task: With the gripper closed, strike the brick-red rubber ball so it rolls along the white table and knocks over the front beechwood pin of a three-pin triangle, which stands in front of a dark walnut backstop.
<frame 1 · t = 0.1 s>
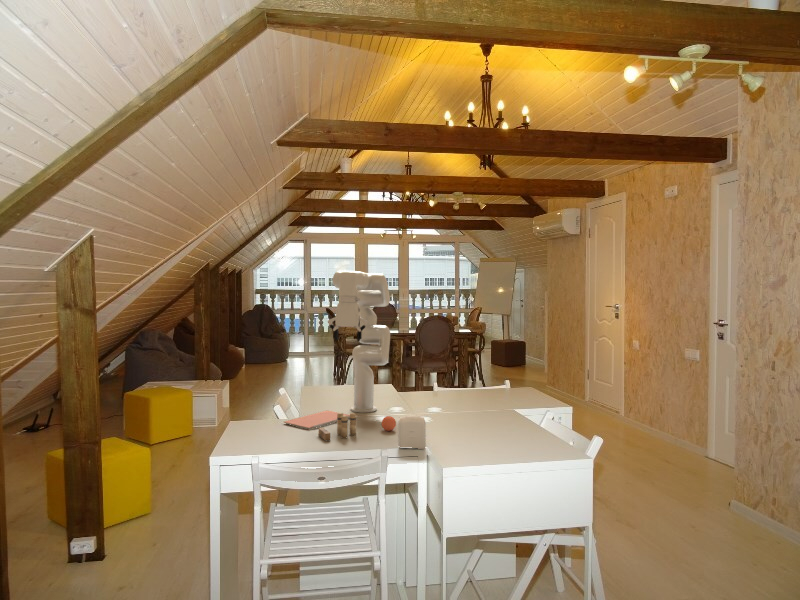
hand: (347, 340, 227), 37 cm above the table, tool pointing down, fingers open, 9 cm apart
rear pin b: (344, 437, 213), on the table
photo printer: (411, 448, 200), on the table
rear pin a: (340, 434, 217), on the table
front pin: (352, 434, 217), on the table
notebook: (319, 422, 238), on the table
ball: (388, 423, 224), on the table
backstop: (324, 438, 212), on the table
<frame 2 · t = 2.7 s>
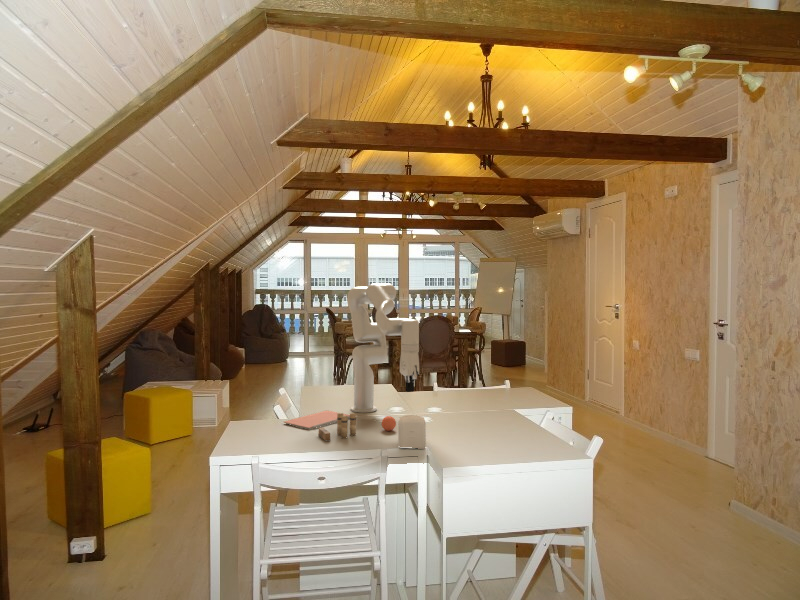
hand: (409, 391, 227), 16 cm above the table, tool pointing down, fingers closed
nothing on the table moved.
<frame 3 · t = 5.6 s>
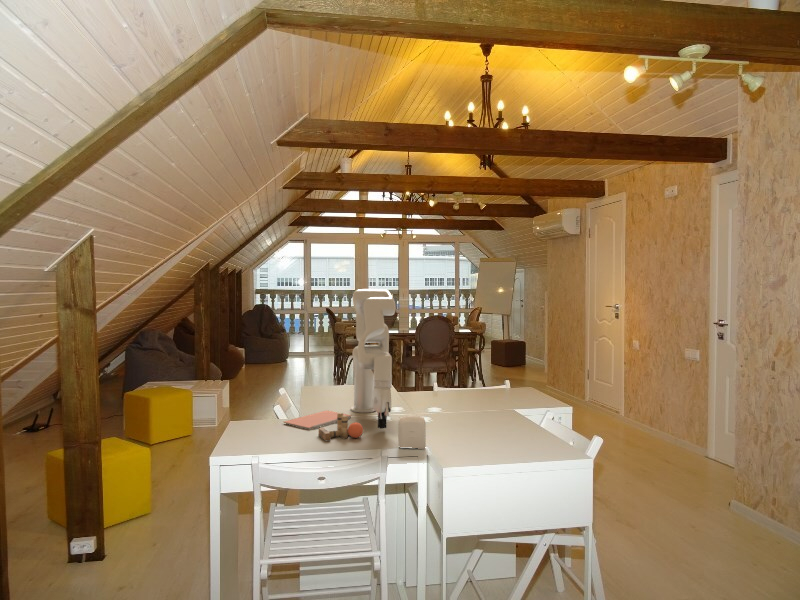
hand: (382, 427, 223), 2 cm above the table, tool pointing down, fingers closed
front pin: (349, 432, 216), point 1 cm above the table, tilted 90°
ball: (355, 430, 213), on the table
everything else where it was.
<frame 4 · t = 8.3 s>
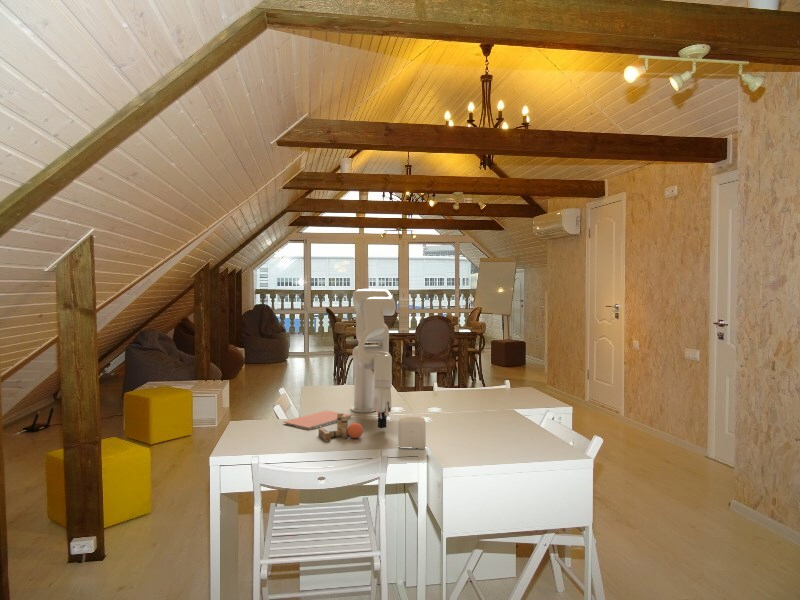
hand: (382, 427, 223), 2 cm above the table, tool pointing down, fingers closed
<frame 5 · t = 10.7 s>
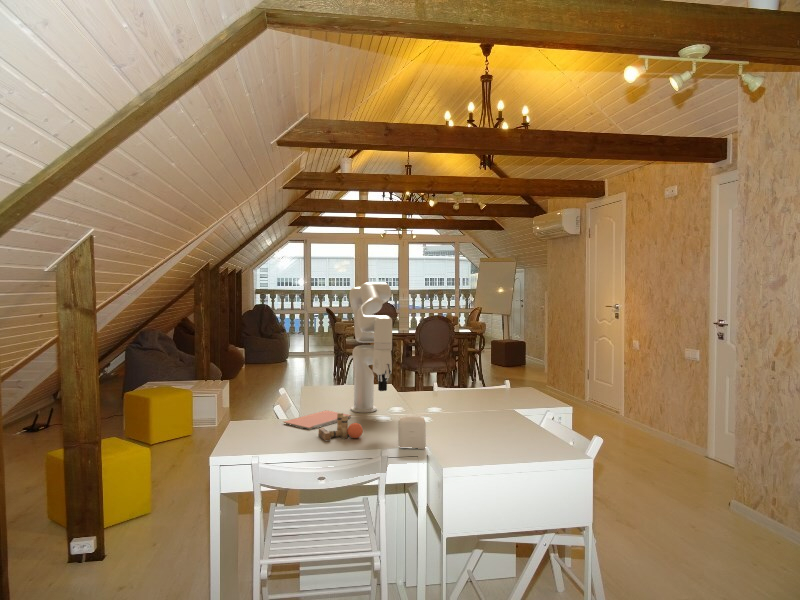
hand: (382, 390, 222), 17 cm above the table, tool pointing down, fingers closed
nothing on the table moved.
at the end: front pin tilted 90°; front pin never touched the robot; ball moved 17.5 cm from its start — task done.
